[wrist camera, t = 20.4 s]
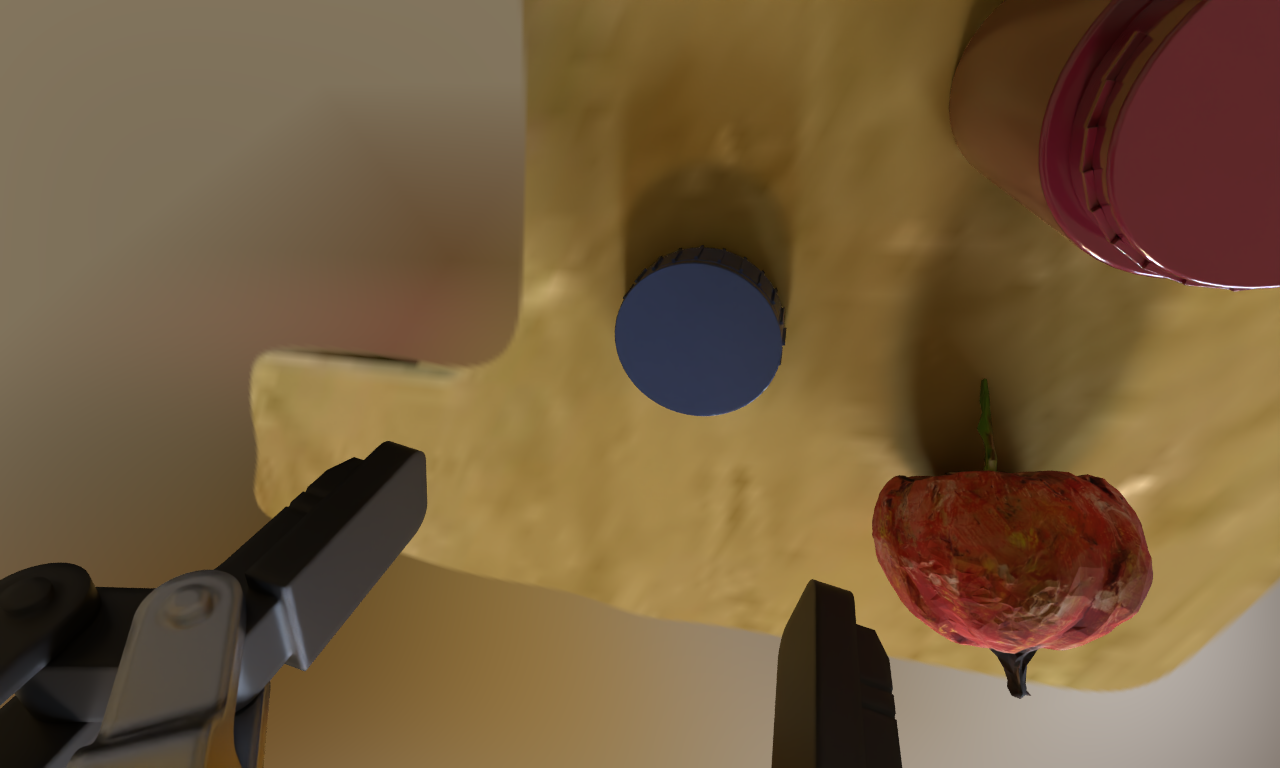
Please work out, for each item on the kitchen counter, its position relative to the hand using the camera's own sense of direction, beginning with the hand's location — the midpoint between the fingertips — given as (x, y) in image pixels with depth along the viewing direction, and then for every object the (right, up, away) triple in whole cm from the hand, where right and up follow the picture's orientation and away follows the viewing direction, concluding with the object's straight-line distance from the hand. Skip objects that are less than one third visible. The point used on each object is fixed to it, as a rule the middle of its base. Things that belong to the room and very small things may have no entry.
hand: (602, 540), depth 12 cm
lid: (+3, +5, +9) cm, 10 cm away
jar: (+12, +11, +4) cm, 17 cm away
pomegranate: (+13, 0, +10) cm, 17 cm away
